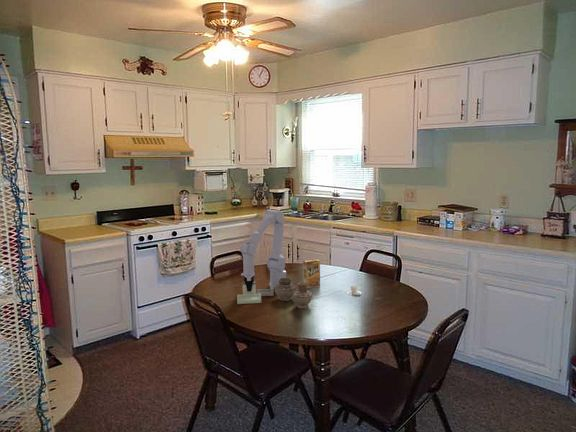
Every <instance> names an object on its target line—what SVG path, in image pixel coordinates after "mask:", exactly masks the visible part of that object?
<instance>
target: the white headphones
mask: <svg viewBox="0 0 576 432" xmlns="http://www.w3.org/2000/svg"><path fill="white" fill-rule="evenodd" d="M357 288H358V287H357V286H356V285H351V286H350V290H348V291H346V294H347V295H349V296H352V295H353V296H360V295H362V292H361V291H359V290H357ZM350 292H351V293H350Z"/></svg>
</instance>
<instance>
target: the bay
mask: <svg viewBox="0 0 576 432" xmlns="http://www.w3.org/2000/svg"><path fill="white" fill-rule="evenodd" d="M256 294H261V297H268V296H269V297H273V296H274V295H275V290H274V288H273V285H269V288H262V289H261V288H256Z"/></svg>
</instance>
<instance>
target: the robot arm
mask: <svg viewBox="0 0 576 432" xmlns="http://www.w3.org/2000/svg"><path fill="white" fill-rule="evenodd" d="M262 217H263V218H262V220H261V222H260V224H259V225H258V227H257V229H256V231H253V232H251V233H250V236H249V238H248V239H247V241H246V242H245V243H243V244H242V245H241V248H240V253H241V256H242V261H243V265H242V266H243V269H242V270H243V272H242V273H240V274H241V276H243V281H244V282H245V284H246V288H247V292H251V291H252V285H253V282H254V281H255V275H256V274H255V255H254V254H256V252H257V247H258V245H259V243H260V241H261V240H262V238H263V236H262V235H263V233H265V231H266V230H267V228H268V227H269V226H270V225H272V226H273V237H272V248H271V249H272V251H271V254H270V255H269V256H268V259H267V262H266V266H267V268H268V270H269V281H270V282H268V284H269V286H270V285H273V288H274V287H275V286H277V285H278V284H279V279H280V278H287V271H286V270H285V268H286V259H285V257H284V256H283V255H282V252H283V251H282V250H283V242H284V240H283V239H284V228H285V222H284V221H285V214H284V212H283V211H282V210H274V209H266V210H265V211H264V213H263V215H262Z"/></svg>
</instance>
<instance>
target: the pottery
mask: <svg viewBox="0 0 576 432" xmlns="http://www.w3.org/2000/svg"><path fill="white" fill-rule="evenodd" d="M291 281H292V279H291V278H290V277H286V278H280V279H279V284H278V285H277V286H275V287H274V294H276V296H278V297H279V301H283V302H286V301H287V302H288V301H290V300H291V299H292V297H293V300H294V302H295V303H296V304H297V305H296V306H297V307H296V308H298V309H307V308H309V306H310V305H309V304H310V303H311V302H312V300H313V299H312V298H313V293H312V291H310V290H308V288H307V285H308V283H306V282H304V281H301V282H300V281H299V282H297V286H295V285H294V284H292V283H291ZM297 288H298V289H297Z"/></svg>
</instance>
